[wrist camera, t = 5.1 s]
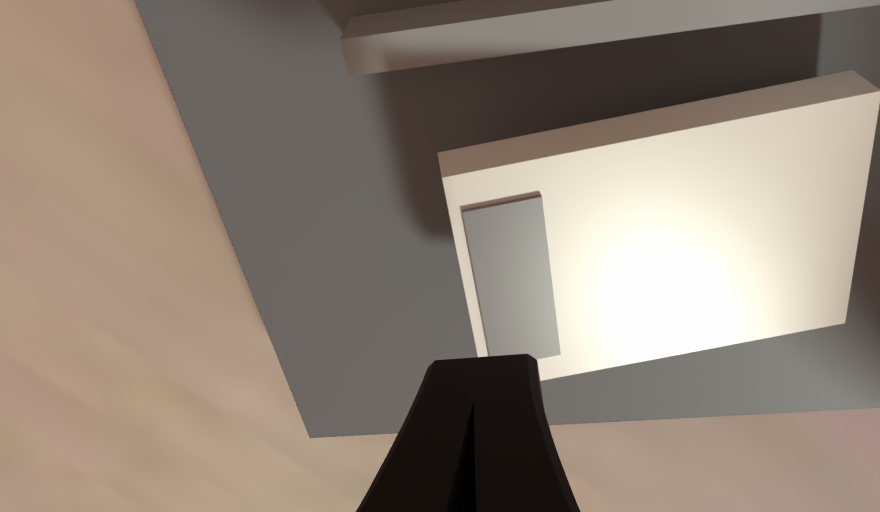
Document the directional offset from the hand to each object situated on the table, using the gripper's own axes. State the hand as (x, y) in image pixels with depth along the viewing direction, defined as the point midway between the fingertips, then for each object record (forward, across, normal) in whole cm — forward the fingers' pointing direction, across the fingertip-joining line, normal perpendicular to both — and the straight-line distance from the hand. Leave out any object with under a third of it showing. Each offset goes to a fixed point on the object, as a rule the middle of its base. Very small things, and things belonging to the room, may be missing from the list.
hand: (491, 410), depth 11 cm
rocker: (+3, -3, 0) cm, 4 cm away
